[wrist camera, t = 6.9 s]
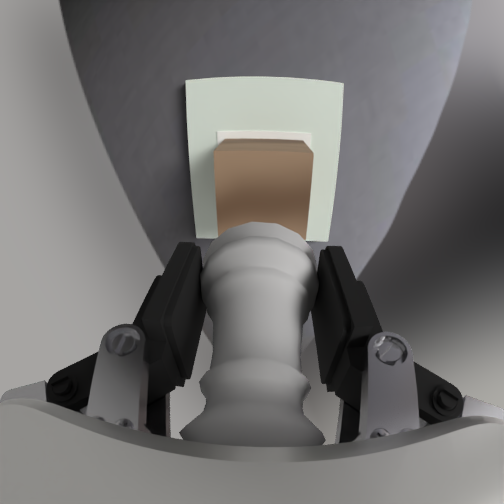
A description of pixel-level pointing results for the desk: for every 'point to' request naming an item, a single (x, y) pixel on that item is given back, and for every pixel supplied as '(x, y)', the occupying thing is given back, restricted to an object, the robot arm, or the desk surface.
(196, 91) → the build board
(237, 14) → the desk surface
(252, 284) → the rook chess piece
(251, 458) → the robot arm
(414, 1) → the desk surface
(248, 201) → the walnut block
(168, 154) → the desk surface
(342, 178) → the desk surface
